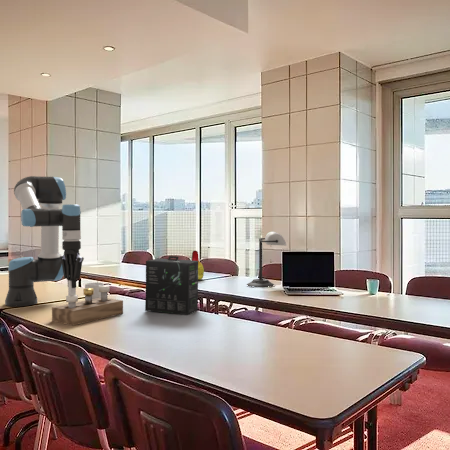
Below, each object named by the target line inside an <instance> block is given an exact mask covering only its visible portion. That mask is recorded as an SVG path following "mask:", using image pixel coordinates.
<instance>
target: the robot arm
mask: <svg viewBox="0 0 450 450" xmlns="http://www.w3.org/2000/svg"><path fill="white" fill-rule="evenodd" d="M13 194H14V197H15V199H16V200H17V201H19V203H20V205H21V208H22V210H21V212H20V223H21V225H22V226H23V227H29V228H34V227H41V228H40V253H38V254H37V259H35V258H34V257H33V256H25V257H17V258H14V259H11V260H10V261H8V268H7V271H8V291H7V293H6V297H5V301H4V303H5V304H4V305H5V306H6V305H7V306H6V307H26V306H28V307H29V306H32V305H36V304H38V297H37V293H36V291H35V288H34V283H40V282H41V283H42V282H56V281H60V280H62V278H64V279H66V280H67V289H68V290H67V293H68V294H67V295H68V296H73V295H77V293H76V292H77V291H76V289H77V280H79V279H81V274H82V267H83V266H82V265H83V261H84V259H85V258H84V256H81V253H80V250H81V249H82V246H81V245H82V242H81V241H80V240H81V239H82V236H81V233H82V231H81V214H82V211H81V206H80V204H76V203H75V204H70V203H69V204H67V203H66V204H63V201H65V200H66V198H67V189H66V184H65V182H64V179H63V178H62V177H59V176H58V177H57V176H39V175H38V176H36V175H29V176H25V177H24V178H21V179H20V180H19V181H17V182H16V183H15V186H14V188H13ZM60 206H61V208H60ZM60 227H61V230H62V232H61V233H62V234H61V235H62V236H61V237H62V239H61V240H63V241H62V242H61V244H62V246H61V249H62V250H64V251H63V255H62V254H61V253H60V252H59V250H60V249H59V239H60V233H59V232H60Z"/></svg>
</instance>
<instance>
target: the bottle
mask: <svg viewBox="0 0 450 450" xmlns="http://www.w3.org/2000/svg"><path fill="white" fill-rule="evenodd" d="M191 260H192V261H198V280H202V279H203V278H204V274H205V272H204V271H205V270H204V269H205V268H204V265H203V263H202V262H200V259H199V251H198V250H193V251H192V253H191Z"/></svg>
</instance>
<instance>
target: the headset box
mask: <svg viewBox="0 0 450 450" xmlns="http://www.w3.org/2000/svg"><path fill="white" fill-rule="evenodd" d="M198 293H199V279H198V261H192V259H190V260H188V259H179V256H178V255H177V256H175V255H174V256H172V255H169V256H168V258H157V257H156V258H155V259H150V260H146V261H145V299H144V300H145V305H144V306H145V308H144V309H145V310H144V311H145V312H152V313H153V312H154V313H165V314H176V315H183V316H189V315H192V314H193V313H195V312H197V311H198V309H199V306H198V305H199V304H198V303H199V294H198ZM194 311H195V312H194ZM192 312H193V313H192Z"/></svg>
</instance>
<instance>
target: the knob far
mask: <svg viewBox="0 0 450 450" xmlns="http://www.w3.org/2000/svg"><path fill="white" fill-rule="evenodd" d="M99 292H101V302H106V301H108V298H109V297H108V295H109V294H108V293H109V292H110V285H104V286H99Z"/></svg>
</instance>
